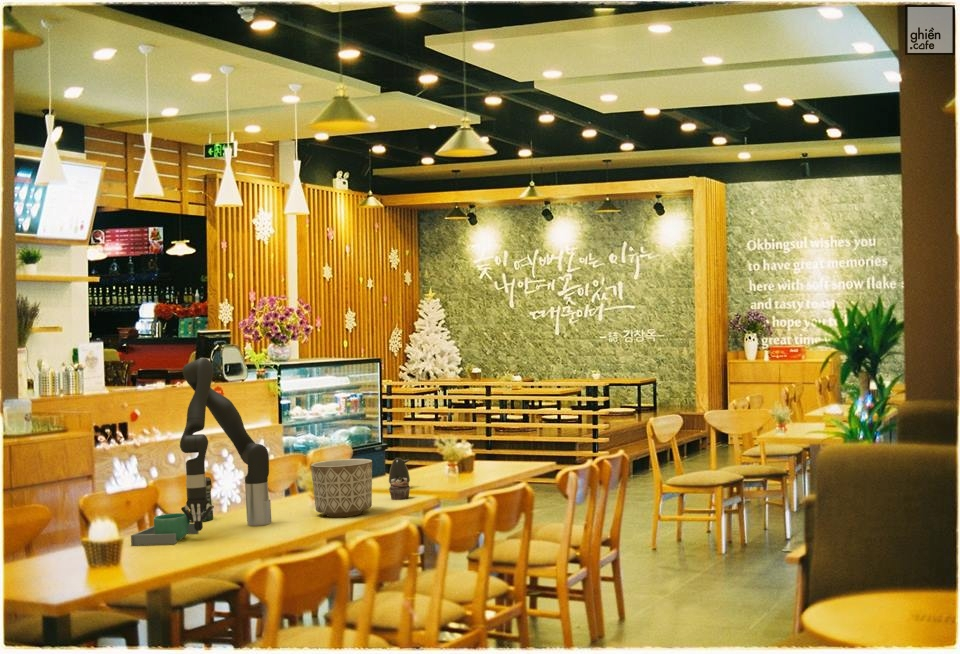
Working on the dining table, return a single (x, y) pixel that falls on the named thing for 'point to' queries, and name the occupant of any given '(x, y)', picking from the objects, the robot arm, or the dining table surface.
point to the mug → (172, 524)
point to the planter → (342, 486)
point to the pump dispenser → (399, 470)
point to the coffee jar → (208, 488)
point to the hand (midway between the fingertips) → (198, 530)
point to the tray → (157, 537)
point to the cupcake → (399, 488)
